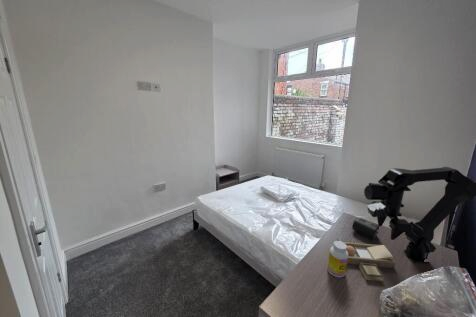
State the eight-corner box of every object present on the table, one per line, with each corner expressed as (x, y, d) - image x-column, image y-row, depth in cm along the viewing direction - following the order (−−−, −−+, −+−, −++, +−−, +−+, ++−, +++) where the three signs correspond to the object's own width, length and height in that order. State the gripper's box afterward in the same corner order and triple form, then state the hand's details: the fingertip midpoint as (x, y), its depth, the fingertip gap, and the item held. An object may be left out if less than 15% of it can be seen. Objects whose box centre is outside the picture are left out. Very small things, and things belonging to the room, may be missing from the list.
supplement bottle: (337, 281, 76) (342, 253, 73) (323, 268, 82) (327, 242, 79) (349, 274, 79) (353, 247, 76) (334, 262, 85) (338, 237, 81)
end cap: (351, 232, 105) (352, 221, 103) (357, 227, 109) (359, 216, 107) (372, 242, 97) (374, 230, 95) (378, 236, 101) (380, 225, 99)
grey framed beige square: (374, 268, 82) (375, 264, 81) (382, 281, 76) (383, 276, 75) (359, 267, 82) (359, 262, 82) (365, 279, 77) (366, 274, 76)
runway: (381, 250, 91) (383, 241, 90) (394, 268, 82) (396, 258, 80) (336, 246, 94) (337, 237, 93) (343, 263, 85) (345, 253, 83)
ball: (344, 252, 91) (341, 244, 91) (354, 250, 90) (351, 242, 89) (348, 259, 87) (344, 251, 86) (358, 257, 86) (355, 249, 85)
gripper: (361, 189, 91) (356, 219, 95) (384, 210, 73) (377, 246, 77) (387, 190, 90) (381, 220, 94) (418, 212, 72) (408, 248, 76)
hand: (385, 232), depth 85 cm, fingers open, 9 cm apart
